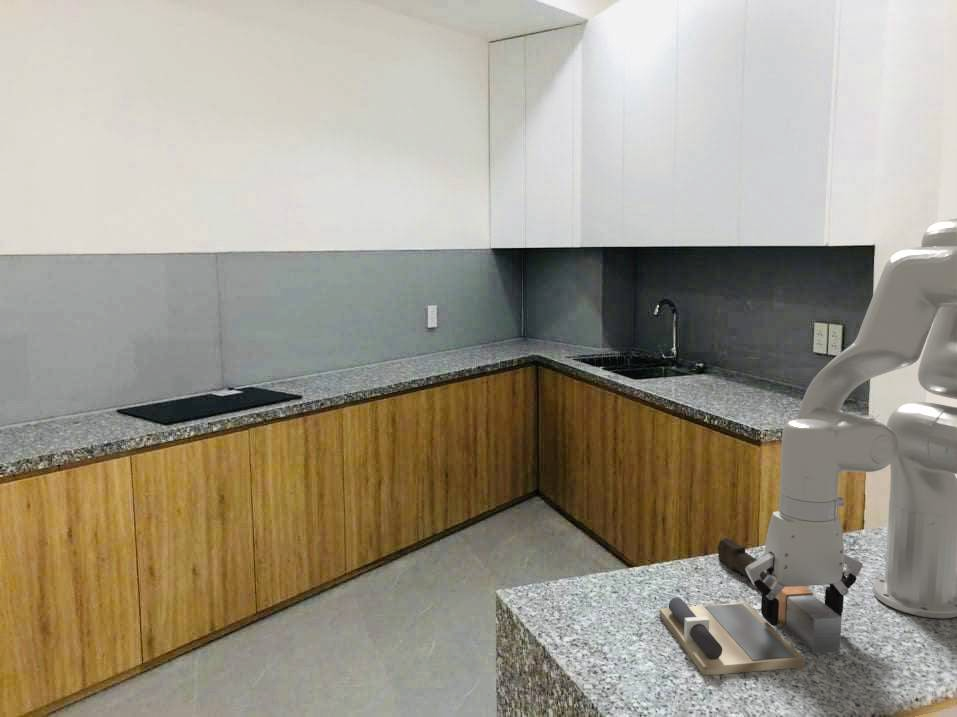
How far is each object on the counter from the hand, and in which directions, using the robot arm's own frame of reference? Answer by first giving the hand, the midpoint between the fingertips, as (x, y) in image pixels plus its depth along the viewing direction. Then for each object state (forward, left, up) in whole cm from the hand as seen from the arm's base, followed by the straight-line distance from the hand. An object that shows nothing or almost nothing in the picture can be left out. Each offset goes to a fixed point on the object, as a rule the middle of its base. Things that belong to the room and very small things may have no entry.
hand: (801, 619), depth 104 cm
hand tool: (-1, -17, -2) cm, 17 cm away
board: (+12, +1, -2) cm, 12 cm away
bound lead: (+17, +1, -2) cm, 17 cm away
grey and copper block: (0, 0, -2) cm, 2 cm away
